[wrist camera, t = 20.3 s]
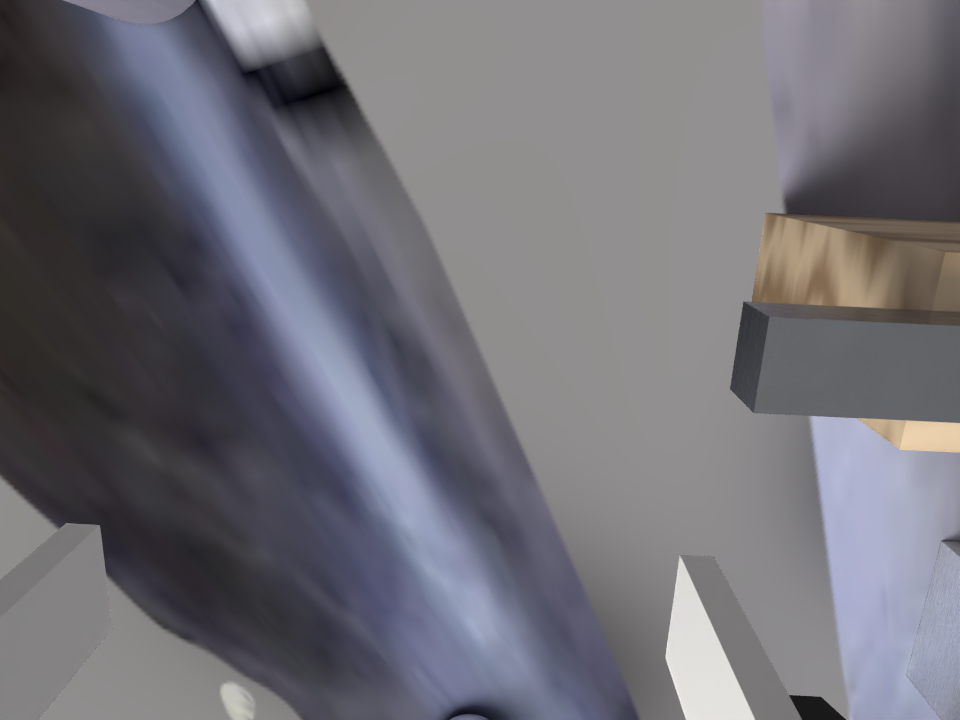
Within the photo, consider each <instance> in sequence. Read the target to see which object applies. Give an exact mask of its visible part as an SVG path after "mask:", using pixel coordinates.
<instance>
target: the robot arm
mask: <svg viewBox="0 0 960 720" xmlns="http://www.w3.org/2000/svg"><path fill="white" fill-rule="evenodd" d="M111 630H112V620H111V612H110V604H109V596H108V588H107V580H106V572H105V564H104V556H103V548H102V540H101V532H100V525H87V524H67V523H66V524H65V525H64V526H63V527H61V528H60V529H59V530H58V531H57V532H56V533H54V534H53V535H52V536H51V537H50V538H49V539H47V540H46V541H45V542H44V543H43V544H42V545H40V546H39V547H38V548H37V549H36V550H35V551H33V552H32V553H31V554H30V555H29V556H28V557H26V558H25V559H24V560H23V561H22V562H21V563H19V564H18V565H17V566H16V567H15V568H14V569H12V570H11V571H10V572H9V573H8V574H6V575H5V576H4V577H3V578H2V579H1V580H0V720H38V719H39V718H40V717H41V716H42V715H43V714H44V712H45V711H46V710H47V708H48V707H49V706H50V705H51V704H52V702H53V701H54V700H55V699H56V698H57V696H58V695H59V694H60V693H61V691H62V690H63V689H64V688H65V686H66V685H67V684H68V683H69V682H70V680H71V679H72V677H74V675H75V674H76V673H77V672H78V670H79V669H80V668H81V667H82V665H83V664H84V663H85V662H86V660H87V659H88V658H89V657H90V656H91V654H92V653H93V652H94V650H96V648H97V646H99V645H100V643H101V642H102V641H103V639H104V638H105V637H106V636H107V635H108V633H109V632H110V631H111ZM665 658H666V661H667V664H668V667H669V670H670V673H671V676H672V679H673V682H674V685H675V688H676V691H677V694H678V697H679V700H680V703H681V706H682V709H683V712H684V715H685V718H686V720H846V719H845V718H844V717H842V716H841V715H840V714H839V713H838V712H837V711H836V710H835V709H834V708H832V707H831V706H830V705H829V704H828V703H827V702H826V701H825V700H824V699H823V698H821V697H813V696H793V695H788V693H787V691H786V689H785V687H784V686H783V683H782V682H781V680H780V678H779V676H778V674H777V672H776V671H775V669H774V667H773V665H772V663H771V661H770V659H769V658H768V656H767V654H766V652H765V650H764V648H763V646H762V645H761V643H760V641H759V639H758V637H757V635H756V633H755V632H754V630H753V628H752V626H751V624H750V622H749V620H748V619H747V617H746V615H745V613H744V611H743V609H742V607H741V606H740V604H739V602H738V600H737V598H736V596H735V595H734V593H733V591H732V589H731V587H730V585H729V583H728V581H727V580H726V578H725V576H724V574H723V573H722V570H721V569H720V567H719V565H718V563H717V561H716V559H715V557H712V556H711V557H710V556H692V555H680V558H679V565H678V572H677V579H676V587H675V594H674V601H673V607H672V614H671V622H670V629H669V636H668V643H667V650H666V657H665Z"/></svg>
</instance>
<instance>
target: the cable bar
mask: <svg viewBox="0 0 960 720" xmlns="http://www.w3.org/2000/svg"><path fill="white" fill-rule="evenodd" d="M730 390H732V392H733V393H734V394H735V395H736V396H737V397H738V398H739V399H740V400H741V401H742V402H743V403H744V404H745V405H746V406H747V407H748V408H749V409H750V410H751V411H752V412H753V413H765V414H785V415H805V416H826V417H846V418H866V419H887V420H907V421H927V422H947V423H960V312H953V311H932V310H912V309H891V308H870V307H849V306H828V305H807V304H786V303H765V302H743V308H742V315H741V321H740V328H739V334H738V340H737V347H736V354H735V360H734V366H733V373H732V380H731V386H730Z"/></svg>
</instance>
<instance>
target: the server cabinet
mask: <svg viewBox="0 0 960 720" xmlns="http://www.w3.org/2000/svg"><path fill="white" fill-rule="evenodd" d="M906 676H907V677H908V679H909V680H910V681H911V682H912V684H913V685H914V686H915V688H916V689H917V690H918V691H919V693H920V694H921V695H922V697H923V698H924V699H925V700H926V702H927V703H928V704H929V705H930V707H931V708H932V709H933V711H934V712H935V713H936V714H937V716H938V717H939V718H940V719H941V720H960V542H951V541H941V544H940V548H939V552H938V556H937V559H936V563H935V567H934V571H933V575H932V579H931V582H930V586H929V590H928V594H927V598H926V602H925V605H924V609H923V613H922V617H921V621H920V625H919V628H918V632H917V636H916V640H915V644H914V648H913V652H912V655H911V659H910V663H909V667H908V671H907V675H906Z"/></svg>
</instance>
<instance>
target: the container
mask: <svg viewBox="0 0 960 720" xmlns="http://www.w3.org/2000/svg"><path fill="white" fill-rule="evenodd" d="M64 1H67V2H70V3H73V4H75V5H78V6H81V7H84V8H87V9H89V10H92V11H95V12H98V13H101V14H103V15H106V16H109V17H112V18H115V19H118V20H120V21H123V22H128V23H133V24H139V25H141V24H156V23H160V22H164V21H168V20H170V19H172V18H174V17H176V16H178V15H180V14H181V13H183V12H184V11H185V10H186V9H187V8H188V7H190V6H191V5H192V4H193V3H194V1H195V0H64Z"/></svg>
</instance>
